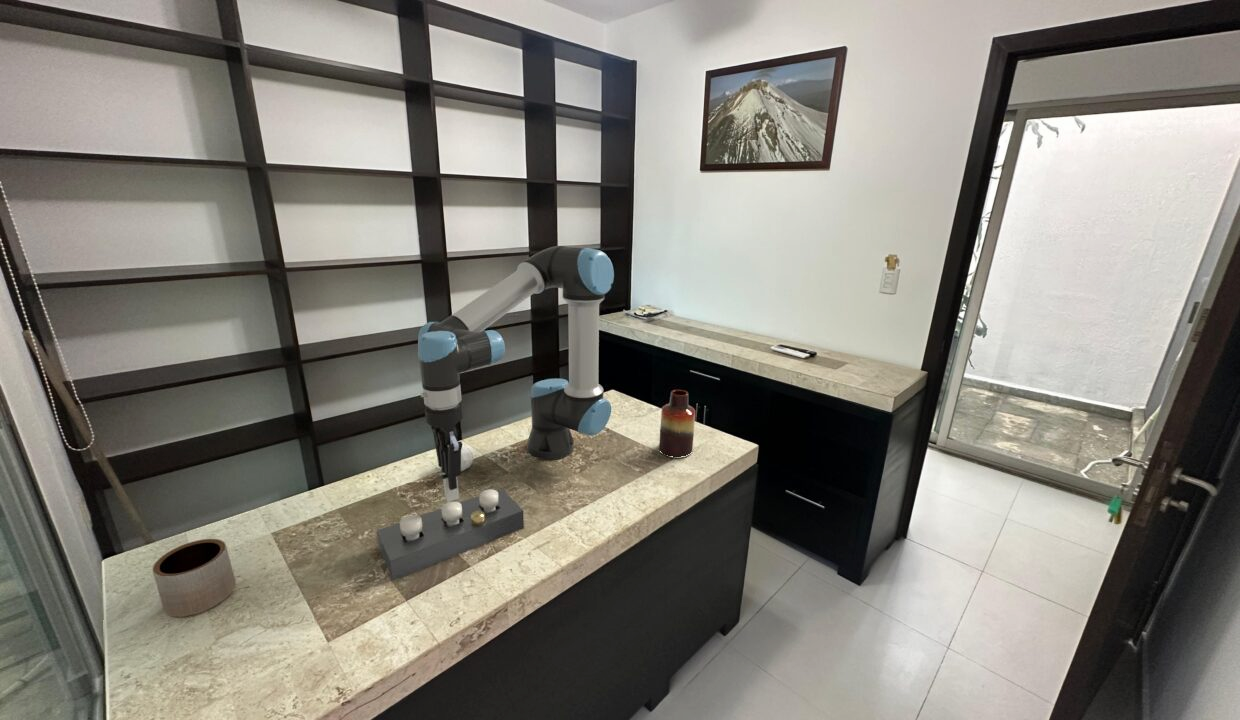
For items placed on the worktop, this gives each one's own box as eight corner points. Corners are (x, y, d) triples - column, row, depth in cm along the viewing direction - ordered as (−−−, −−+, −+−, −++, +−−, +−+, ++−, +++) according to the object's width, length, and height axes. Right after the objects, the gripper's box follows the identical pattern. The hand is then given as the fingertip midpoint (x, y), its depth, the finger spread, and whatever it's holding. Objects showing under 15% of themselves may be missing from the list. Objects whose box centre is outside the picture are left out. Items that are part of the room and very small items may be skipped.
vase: (669, 439, 167) (673, 384, 161) (697, 449, 161) (702, 391, 155) (652, 451, 159) (656, 393, 153) (682, 461, 153) (686, 401, 147)
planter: (153, 626, 89) (140, 583, 86) (177, 585, 98) (165, 545, 95) (227, 609, 93) (216, 567, 90) (243, 571, 102) (233, 532, 100)
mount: (502, 504, 128) (501, 488, 126) (523, 528, 119) (523, 510, 117) (378, 549, 110) (376, 530, 109) (392, 580, 101) (390, 560, 100)
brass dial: (481, 516, 115) (481, 509, 114) (486, 522, 113) (486, 515, 112) (469, 520, 113) (468, 513, 112) (474, 527, 111) (473, 520, 110)
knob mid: (459, 528, 117) (457, 499, 115) (466, 537, 114) (464, 508, 112) (441, 534, 115) (438, 505, 112) (447, 544, 111) (445, 515, 109)
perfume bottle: (483, 454, 146) (462, 479, 135) (465, 464, 150) (443, 489, 139) (467, 434, 145) (444, 457, 134) (449, 445, 148) (425, 468, 137)
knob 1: (421, 542, 112) (418, 512, 110) (427, 552, 109) (424, 522, 106) (401, 549, 109) (397, 519, 107) (406, 560, 106) (402, 529, 104)
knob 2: (495, 515, 123) (493, 487, 120) (502, 523, 119) (501, 495, 117) (478, 521, 120) (476, 493, 118) (485, 530, 117) (483, 501, 114)
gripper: (415, 398, 107) (426, 491, 114) (435, 418, 97) (445, 518, 105) (449, 390, 112) (458, 481, 119) (471, 409, 102) (479, 506, 109)
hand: (452, 498), depth 112 cm, fingers closed
